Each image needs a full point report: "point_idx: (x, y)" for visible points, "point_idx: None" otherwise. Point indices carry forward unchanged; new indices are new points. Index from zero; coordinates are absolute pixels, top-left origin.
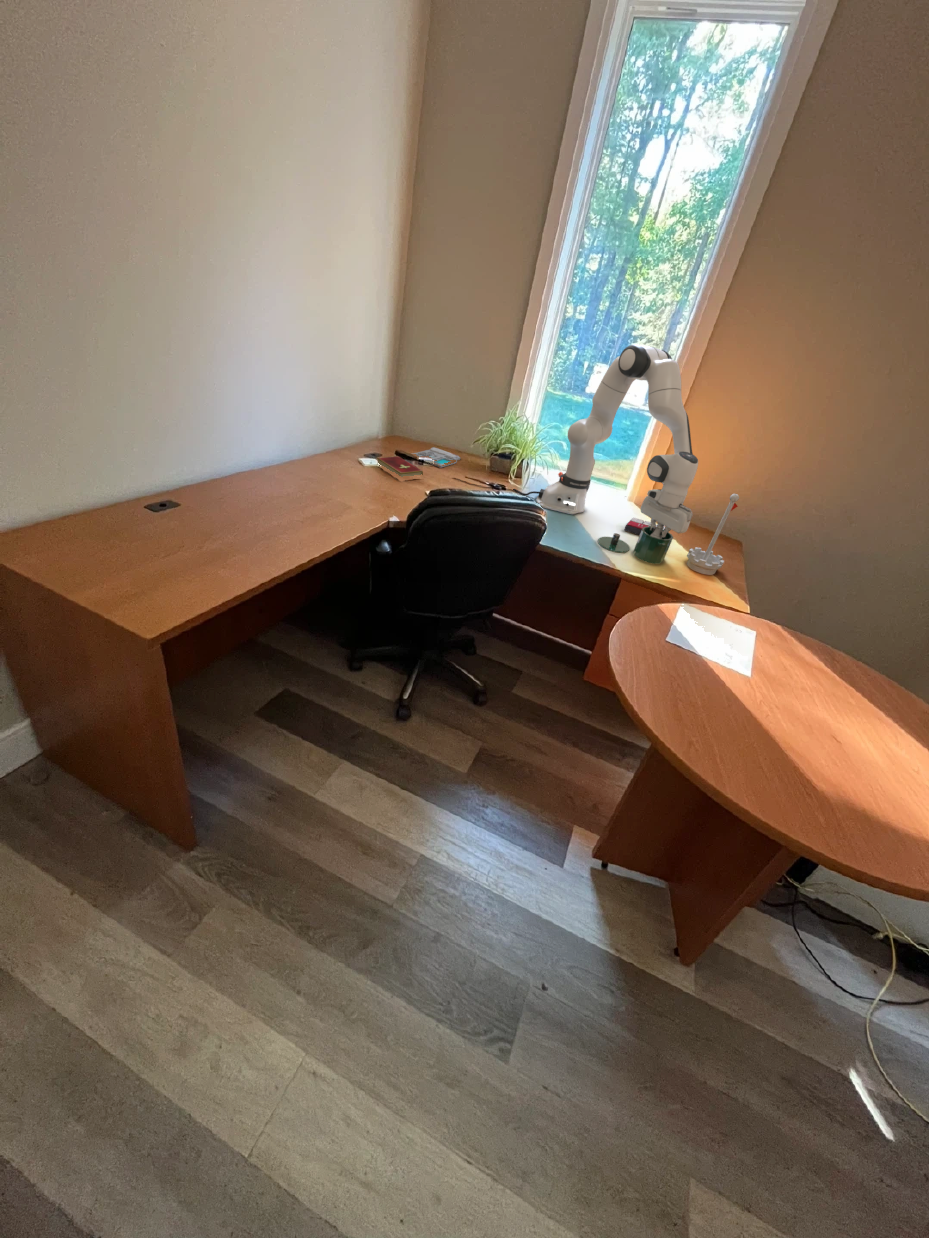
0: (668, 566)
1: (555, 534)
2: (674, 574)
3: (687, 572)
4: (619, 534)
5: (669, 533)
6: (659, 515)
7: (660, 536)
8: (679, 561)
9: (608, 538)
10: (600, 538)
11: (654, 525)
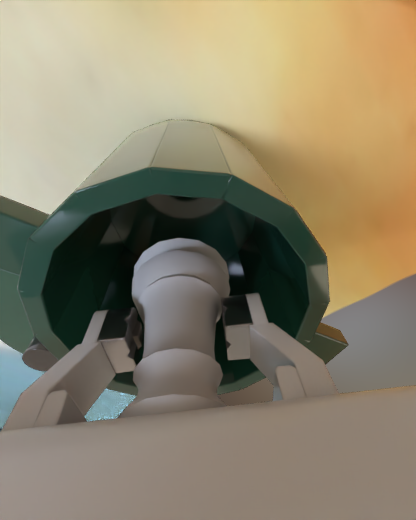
0: (299, 151)
1: (2, 426)
2: (372, 185)
3: (409, 63)
4: (35, 349)
5: (204, 188)
6: None
7: (219, 300)
8: None
9: (3, 315)
10: (14, 345)
11: (97, 363)
